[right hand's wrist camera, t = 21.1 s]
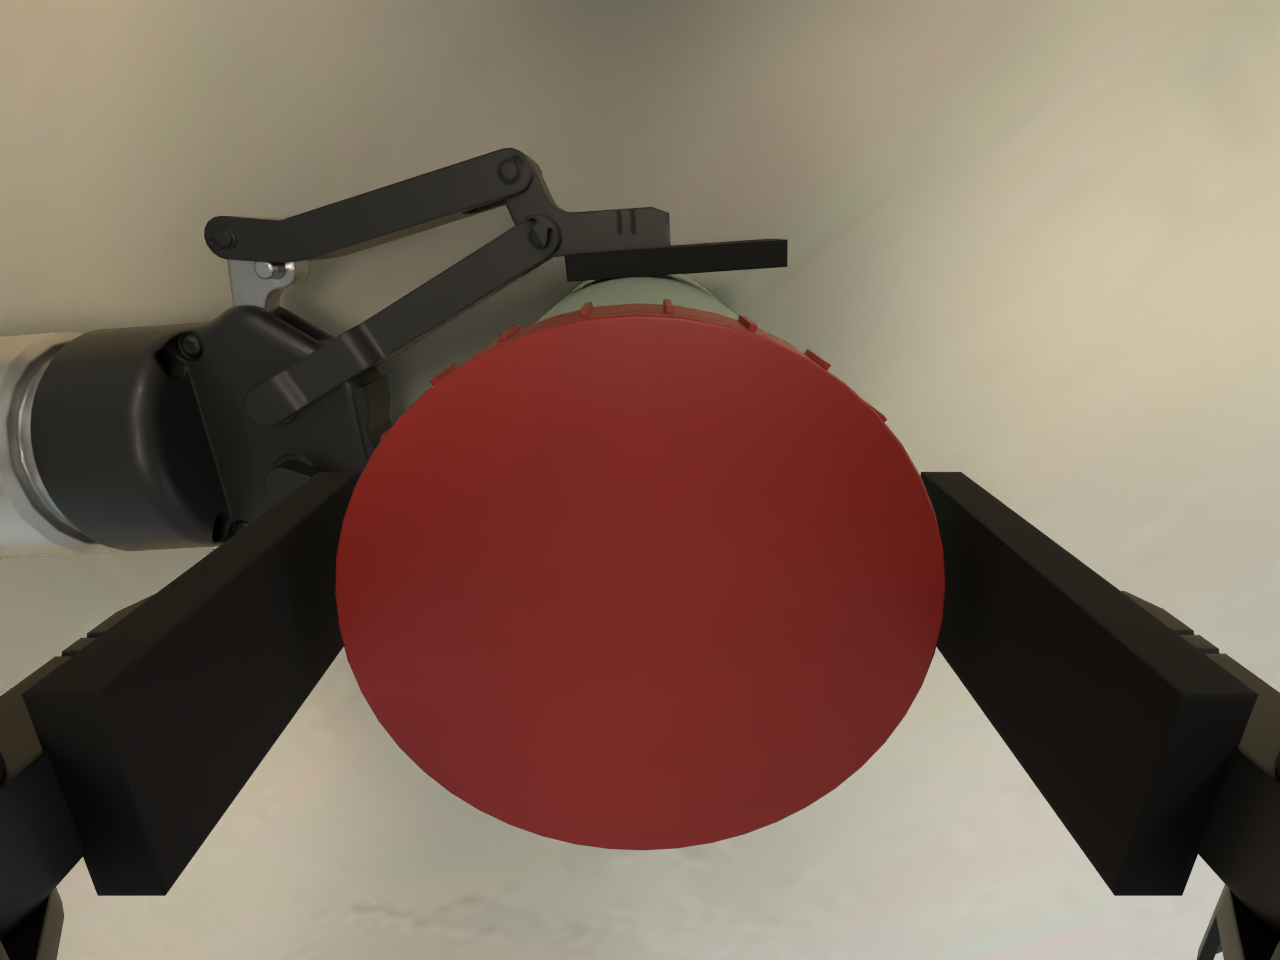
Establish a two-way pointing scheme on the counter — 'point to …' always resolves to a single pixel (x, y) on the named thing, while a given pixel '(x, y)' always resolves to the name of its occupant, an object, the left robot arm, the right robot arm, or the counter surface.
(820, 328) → the counter surface
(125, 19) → the counter surface
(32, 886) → the right robot arm
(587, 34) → the counter surface
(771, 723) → the lid
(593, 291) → the jar
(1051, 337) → the counter surface
